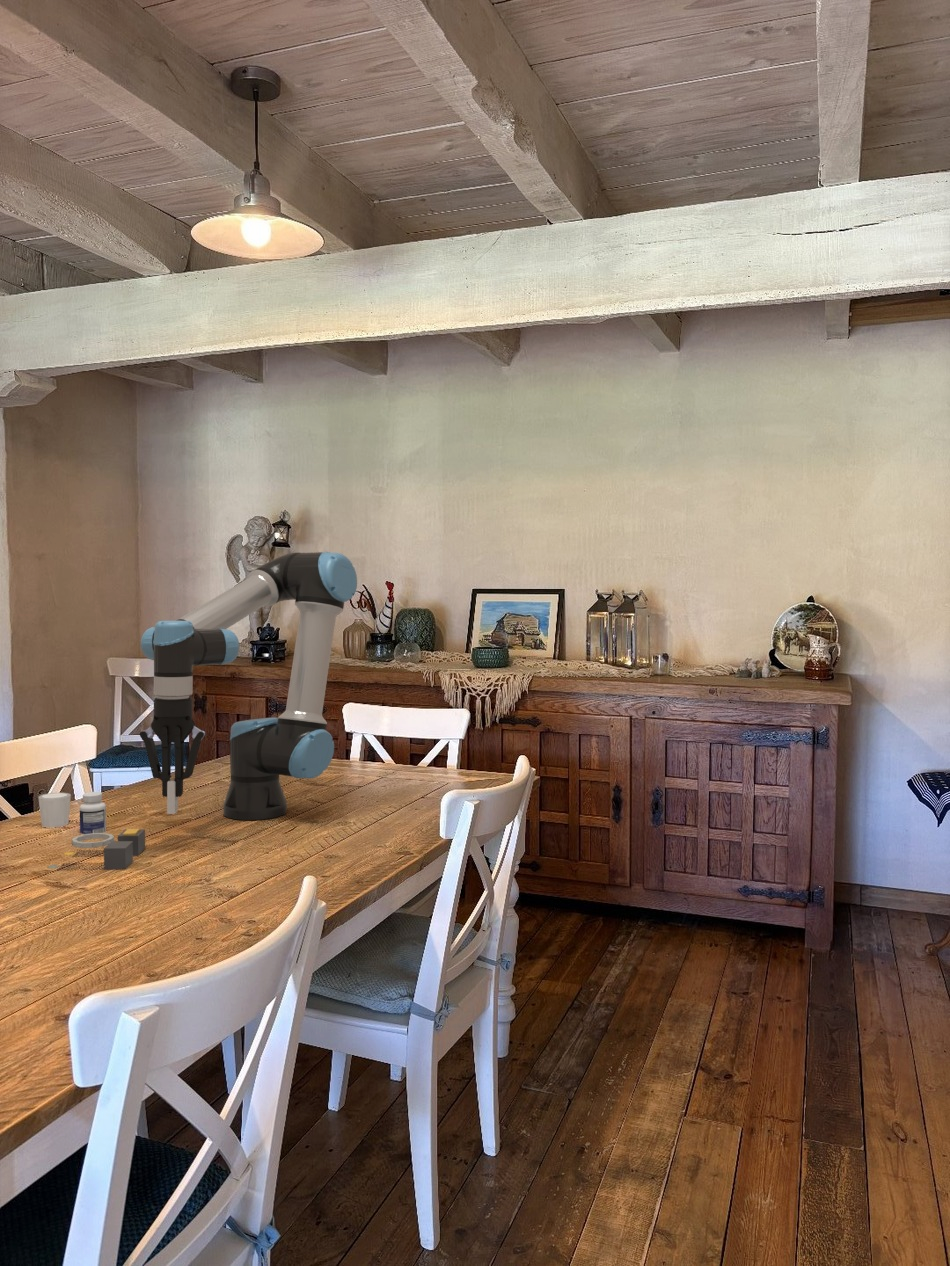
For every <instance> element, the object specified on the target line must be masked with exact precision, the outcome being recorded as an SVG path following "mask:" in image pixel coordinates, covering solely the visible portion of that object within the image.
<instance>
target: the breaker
mask: <svg viewBox="0 0 950 1266" xmlns="http://www.w3.org/2000/svg"><path fill="white" fill-rule="evenodd" d="M103 850H104V852H103V853H104V857H103V863H104V866H103V867H104V869H106V870H109V869H113V870H115V869H119V870H120V869H121V870H127V868H129V866H130V865H131V864H132V863H133V862H134V856H133V841H118V840H117V841H115V840H114V841H112V842H111V843H110V844H108V845H106V846H104V848H103Z"/></svg>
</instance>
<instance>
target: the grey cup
mask: <svg viewBox="0 0 950 1266" xmlns="http://www.w3.org/2000/svg"><path fill="white" fill-rule="evenodd" d="M71 796H72V795H71V793H68V792H51V793H49V792H48V793H43V794H41V795H38V796H37V797H38V804H39V814H40V823H41V827H42V826H44V827H60V828H62V827H61V826H65V825H67V824H68V825H69V821H70V809H71V798H72V797H71ZM68 825H67V826H68ZM65 827H66V826H65Z"/></svg>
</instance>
